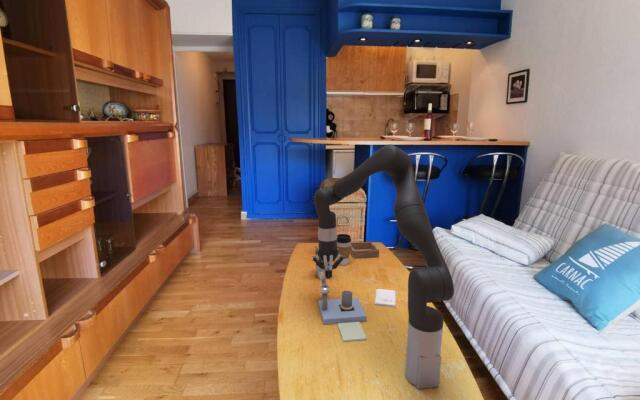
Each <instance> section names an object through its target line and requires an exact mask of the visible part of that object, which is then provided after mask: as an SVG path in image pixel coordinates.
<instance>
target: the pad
mask: <svg viewBox="0 0 640 400" xmlns="http://www.w3.org/2000/svg"><path fill="white" fill-rule="evenodd" d="M337 326H338V330H339V333H340V337H341V339H342V342H343V343H345V342H357V341H358V342H359V341H367V340H368V339H367V335H366V334H365V331H364V329H363V327H362V325H361V322H349V323H337Z"/></svg>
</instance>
